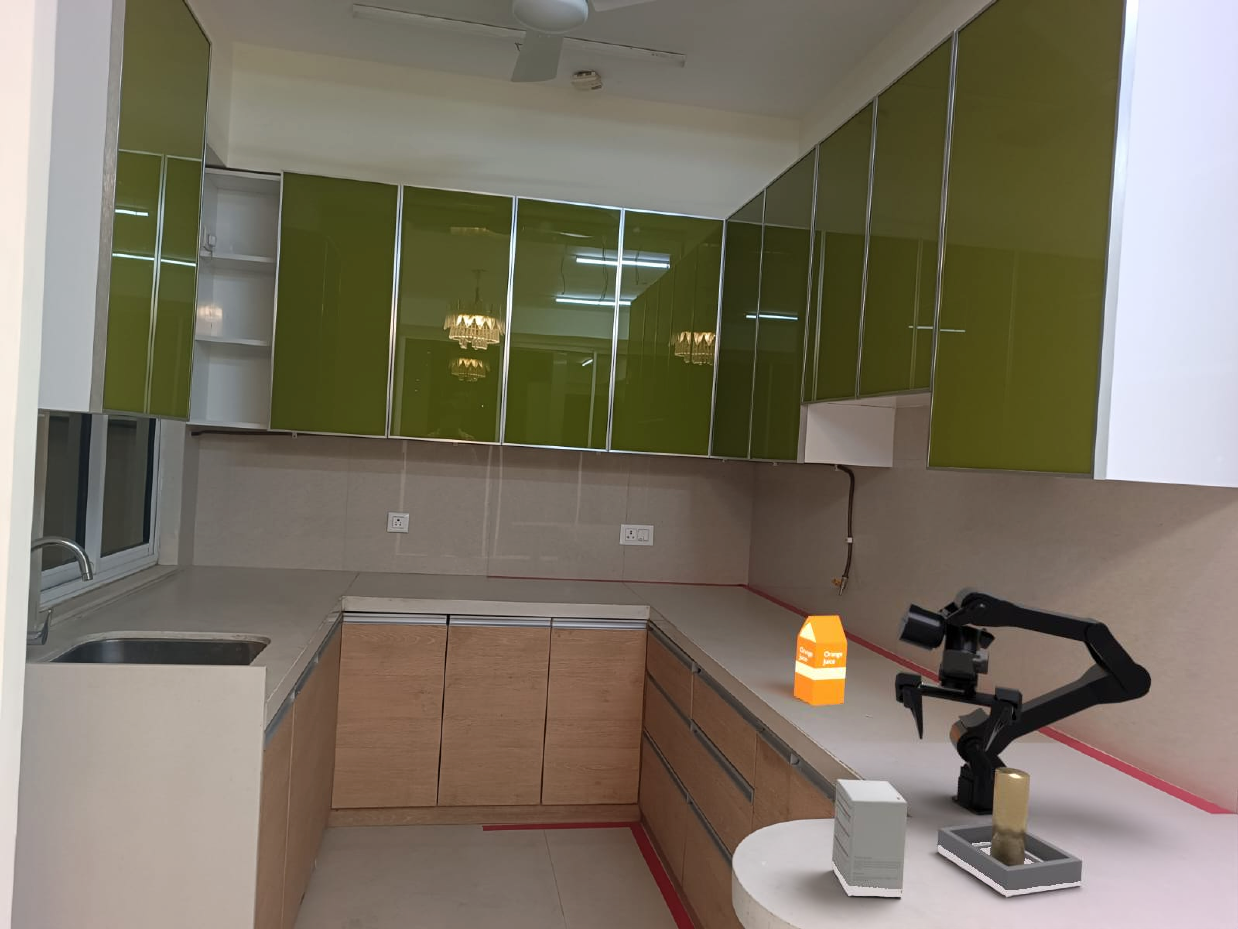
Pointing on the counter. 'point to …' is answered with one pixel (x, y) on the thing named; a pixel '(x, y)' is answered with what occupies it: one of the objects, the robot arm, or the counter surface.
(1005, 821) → the shiny gold cylinder
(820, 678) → the orange juice
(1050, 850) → the walled box
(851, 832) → the supplement box
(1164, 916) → the counter surface
